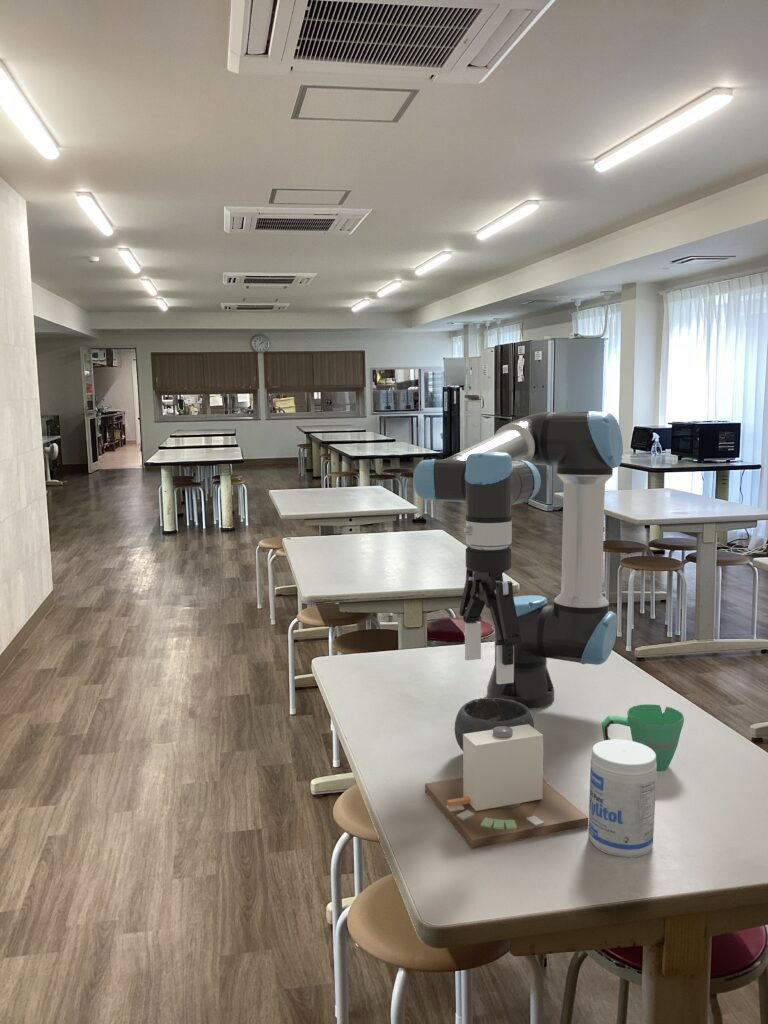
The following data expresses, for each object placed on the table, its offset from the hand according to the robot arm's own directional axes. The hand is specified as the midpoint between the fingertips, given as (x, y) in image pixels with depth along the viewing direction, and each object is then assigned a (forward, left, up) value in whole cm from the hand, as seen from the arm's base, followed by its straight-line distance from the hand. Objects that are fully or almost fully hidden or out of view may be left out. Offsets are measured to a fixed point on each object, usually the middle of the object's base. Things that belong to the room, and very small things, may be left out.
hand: (488, 670), depth 140 cm
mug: (-31, -1, -22) cm, 38 cm away
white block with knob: (+2, +5, -20) cm, 21 cm away
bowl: (-7, -13, -22) cm, 27 cm away
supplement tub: (-12, +21, -22) cm, 33 cm away
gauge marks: (+3, +10, -21) cm, 23 cm away
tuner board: (0, +5, -22) cm, 23 cm away
